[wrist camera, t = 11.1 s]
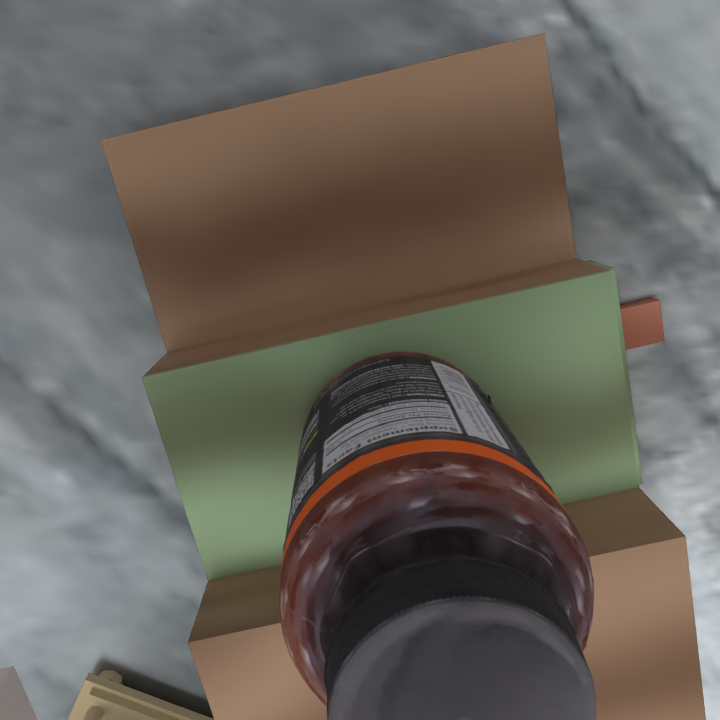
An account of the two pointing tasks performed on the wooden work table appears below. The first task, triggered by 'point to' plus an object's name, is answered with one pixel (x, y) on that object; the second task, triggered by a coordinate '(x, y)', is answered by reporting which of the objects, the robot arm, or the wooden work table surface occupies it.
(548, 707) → the supplement bottle
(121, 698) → the carriage clock
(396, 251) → the step stand
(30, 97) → the wooden work table surface
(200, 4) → the wooden work table surface
